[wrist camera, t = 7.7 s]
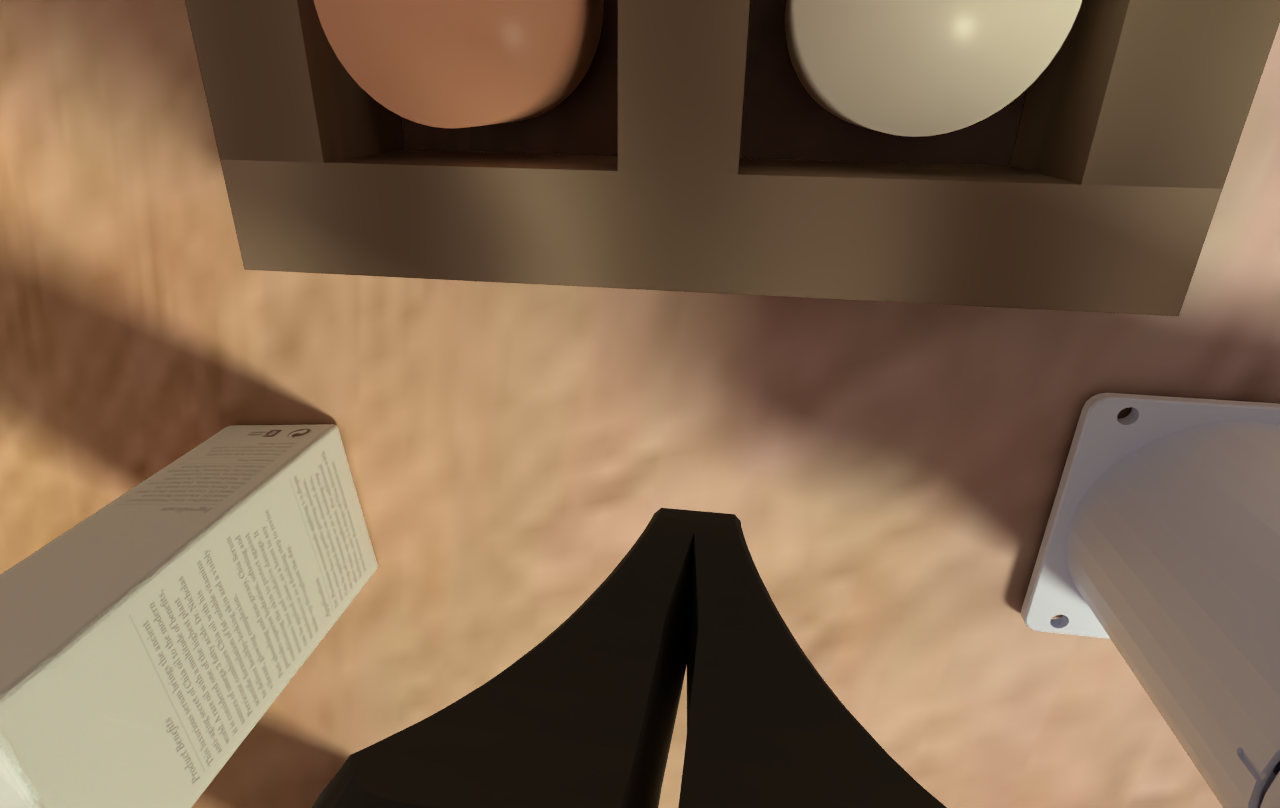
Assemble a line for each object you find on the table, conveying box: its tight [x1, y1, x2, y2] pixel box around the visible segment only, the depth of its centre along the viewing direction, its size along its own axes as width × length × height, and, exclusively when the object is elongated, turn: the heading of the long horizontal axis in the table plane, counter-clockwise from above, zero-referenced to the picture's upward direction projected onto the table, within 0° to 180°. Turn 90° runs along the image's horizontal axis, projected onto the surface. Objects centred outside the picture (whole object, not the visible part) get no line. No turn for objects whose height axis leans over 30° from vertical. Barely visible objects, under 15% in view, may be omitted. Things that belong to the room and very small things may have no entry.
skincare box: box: [0, 424, 378, 808], centre depth 19 cm, size 6×4×12 cm
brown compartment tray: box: [185, 0, 1280, 316], centre depth 15 cm, size 21×12×4 cm, turn 89°
